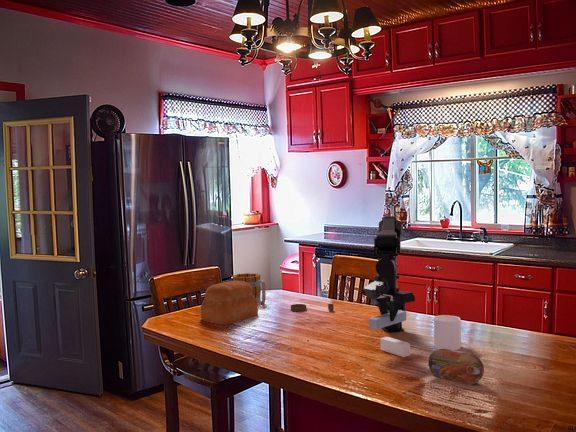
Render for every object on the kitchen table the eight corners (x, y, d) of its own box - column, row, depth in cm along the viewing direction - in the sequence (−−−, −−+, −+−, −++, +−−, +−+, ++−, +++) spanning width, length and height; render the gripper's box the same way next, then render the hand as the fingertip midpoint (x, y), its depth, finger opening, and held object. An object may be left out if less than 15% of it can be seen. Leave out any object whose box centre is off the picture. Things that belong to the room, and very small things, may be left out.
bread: (262, 319, 221) (261, 280, 220) (226, 330, 204) (224, 288, 203) (233, 314, 232) (232, 276, 231) (196, 324, 215) (195, 284, 214)
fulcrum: (369, 355, 167) (369, 340, 167) (395, 348, 174) (395, 333, 174) (394, 364, 158) (394, 348, 158) (421, 356, 165) (420, 341, 165)
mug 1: (227, 307, 247) (226, 275, 246) (248, 302, 256) (247, 272, 256) (254, 312, 233) (253, 279, 232) (276, 307, 242) (275, 276, 242)
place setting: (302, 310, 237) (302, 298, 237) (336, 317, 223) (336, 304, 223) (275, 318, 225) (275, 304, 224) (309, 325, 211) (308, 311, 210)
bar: (398, 318, 174) (398, 310, 174) (406, 320, 172) (406, 311, 172) (368, 327, 163) (368, 318, 163) (376, 329, 161) (376, 319, 161)
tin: (428, 376, 147) (427, 347, 147) (432, 373, 150) (432, 344, 149) (481, 388, 138) (481, 357, 137) (485, 384, 140) (485, 354, 140)
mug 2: (471, 347, 173) (470, 316, 173) (452, 355, 165) (452, 322, 165) (447, 342, 179) (447, 312, 179) (428, 350, 171) (428, 318, 171)
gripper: (349, 272, 170) (350, 318, 171) (389, 278, 155) (390, 330, 155) (374, 268, 176) (375, 314, 177) (415, 274, 161) (416, 324, 161)
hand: (388, 320), depth 167 cm, fingers closed on bar, 3 cm apart
